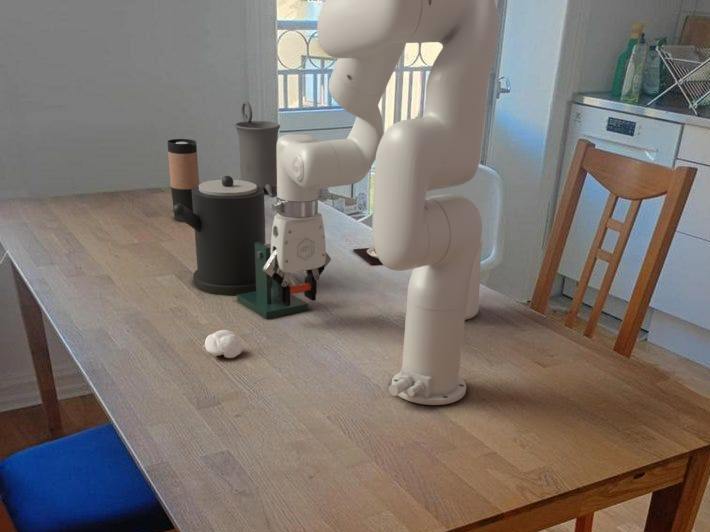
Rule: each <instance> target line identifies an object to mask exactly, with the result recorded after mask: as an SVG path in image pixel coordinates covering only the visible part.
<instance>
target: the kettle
mask: <svg viewBox="0 0 710 532" xmlns="http://www.w3.org/2000/svg"><path fill="white" fill-rule="evenodd" d="M264 189H265V188H261V187H259V186H257V185H255V184H254V183H251V182H247V181H241V180H240V179H234V178H232V177H231V176H230V175H224V176H223V177H222V179H214V180H207V181H203V182H201V183H199V185H198V186H195V187H193V188H192V202H193V212H192V211H191V210H189V209H188V208H187V207H185V206H184V205H182V204H176V205H175V206H174V207H173V206H172V212H173V215H174V214H175V215H176V216H177V217H179V218H180V219H181V220H183V221H184V223H185V224H186V225H188V226H189V227H191V228H192V229H193V230H194V241H195V242H194V243H195V253H196V254H195V255H196V267H197V269H196V270H195V271H193V274H192V277H193V284H194V287H195V288H196V289H199V290H200V291H202V292H205V293H209V294H214V295H221V296H237V295H238V294H243V293H248V292H253V291H256V268H255V243H257V242H259V243H261V244H263V245H265V244H267V243H266V210H265V209H266V208H265V190H264Z"/></svg>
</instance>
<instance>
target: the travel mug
mask: <svg viewBox="0 0 710 532" xmlns="http://www.w3.org/2000/svg"><path fill="white" fill-rule="evenodd" d="M197 148H198V147H197V141H196V140H195V139H190V138H174V139H169V140H167V154H168V168H169V169H168V170H169V178H170V179H169V180H170V181H169V182H170V190H171V198H172V199H171V200H172V208H173V207H174V206H175V205H176V204H182V205H184V206H185V207H187V208H188V209H189V210H191V211H192V212H193V202H192V188H193V187H195V186H198V185H199V184H200V173H199V162H198V149H197ZM173 216H174V220H175V221H178V222H182V223H183V222H184V221H183V220H181V219H180V218H179V217H177V216H176V215H175V214H174V213H173ZM184 223H185V222H184Z"/></svg>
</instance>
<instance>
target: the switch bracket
mask: <svg viewBox="0 0 710 532" xmlns="http://www.w3.org/2000/svg"><path fill="white" fill-rule="evenodd" d="M269 258H270V248H269V247H267V246H265V245H263V244H261V243H259V242H257V243H255V268H256V291H253V292H248V293H243V294H238V295H236V301H237V303H240V304H241V305H243V306H244V307H246V308H248V309H250V310H251V311H253V312H254V313H256V314H258V315H260V316H261V317H263V318H264V319H266V320H269V319H272V318H277V317H282V316H286V315H291V314H295V313H300V312H305V311H308V310H309V303H308V302H306V301H304V300H303V299H301V298H300V297H297V296H296V295H293V294H290V306H285V305H283V304H282V303H280V302H279V299H278V283H276V282H275V281H274V280H273V279H272V278H271V277H270V276H269V275H267V274H266V273H265V272H264V271H263V270H262V269H263V267H264V265H265V264H266V262H267V261H268V259H269ZM277 270H278V267H274V271H275V272H276V273H277Z"/></svg>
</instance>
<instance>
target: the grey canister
mask: <svg viewBox="0 0 710 532" xmlns="http://www.w3.org/2000/svg"><path fill="white" fill-rule="evenodd" d="M246 106H247V109H248V115H247V114H246V113H245V108H246ZM240 110H241V111H240V112H241V118H242V121H239V122H236V123H234V127H235V129H236V132H237V135H238V147H239V168H240V169H239V170H240V179H239V180H241V181H247V182H251V183H254V184H255V185H257V186H259V187H261V188H263V189H265V190H266V192H267V193H268V196H270V197H274V196H273V187H277V149H276V148H277V141H278V135H279V134H278V133H279V130H280V128H281V125H280V124H279V123H277V122H273V121H266V120H252V119H253V110H252V106H251V104H250V102H249V101H246V100H245V101H243V102H242V104H241V108H240Z"/></svg>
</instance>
